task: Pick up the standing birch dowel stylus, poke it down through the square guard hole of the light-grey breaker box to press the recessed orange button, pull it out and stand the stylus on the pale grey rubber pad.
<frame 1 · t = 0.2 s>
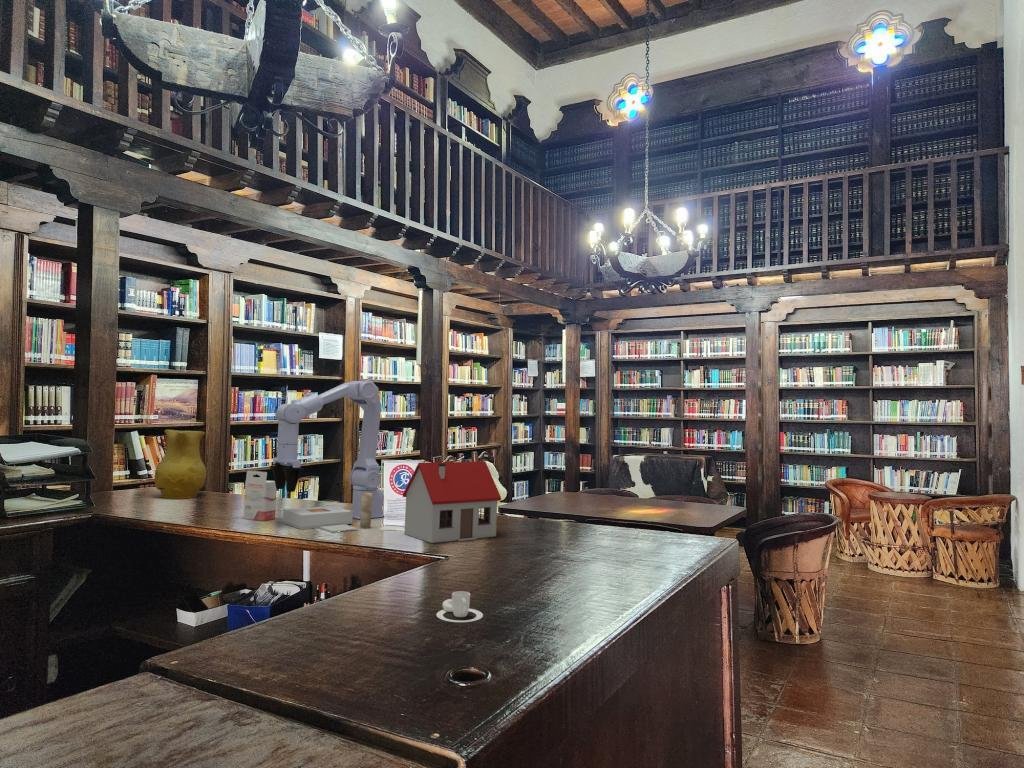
hand: (285, 490, 193), 10 cm above the table, tool pointing down, fingers open, 7 cm apart
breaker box: (317, 523, 196), on the table
house model: (450, 536, 185), on the table
stylus: (365, 527, 193), on the table
rest pad: (338, 529, 188), on the table
teacup and saucer: (471, 615, 115), on the table
ink cartridge box: (259, 519, 201), on the table
pitcher: (181, 497, 243), on the table
breaker button: (317, 513, 196), point 3 cm above the table, slide at 0.0 cm
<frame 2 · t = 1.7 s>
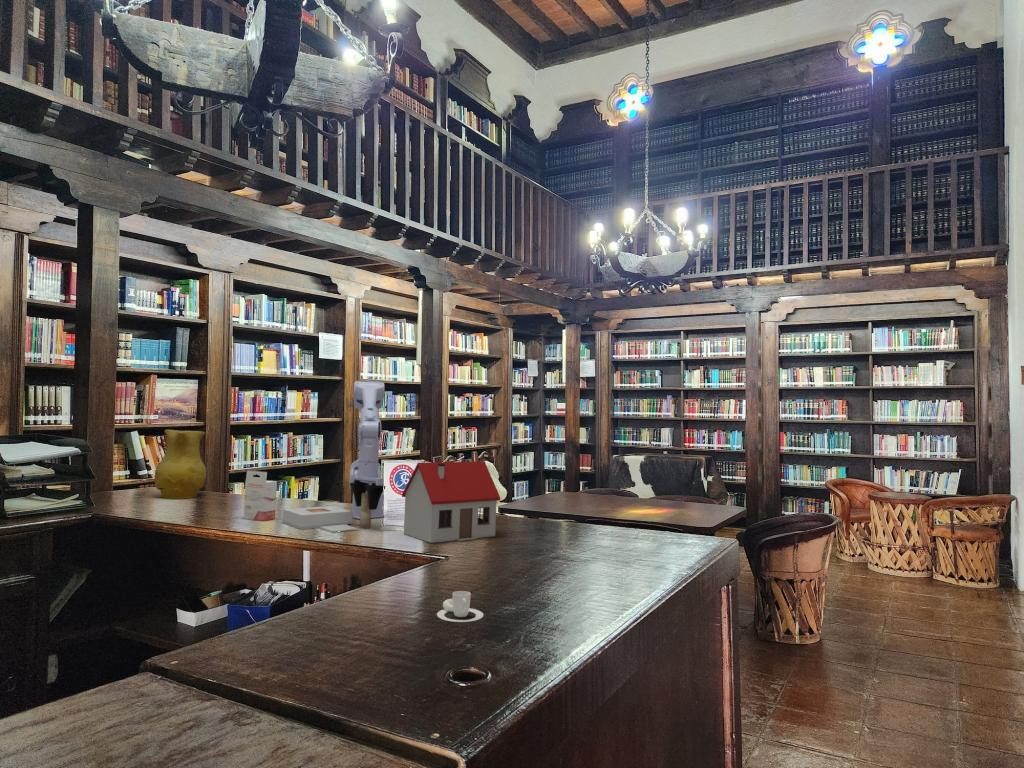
hand: (366, 507, 193), 6 cm above the table, tool pointing down, fingers open, 7 cm apart
nothing on the table moved.
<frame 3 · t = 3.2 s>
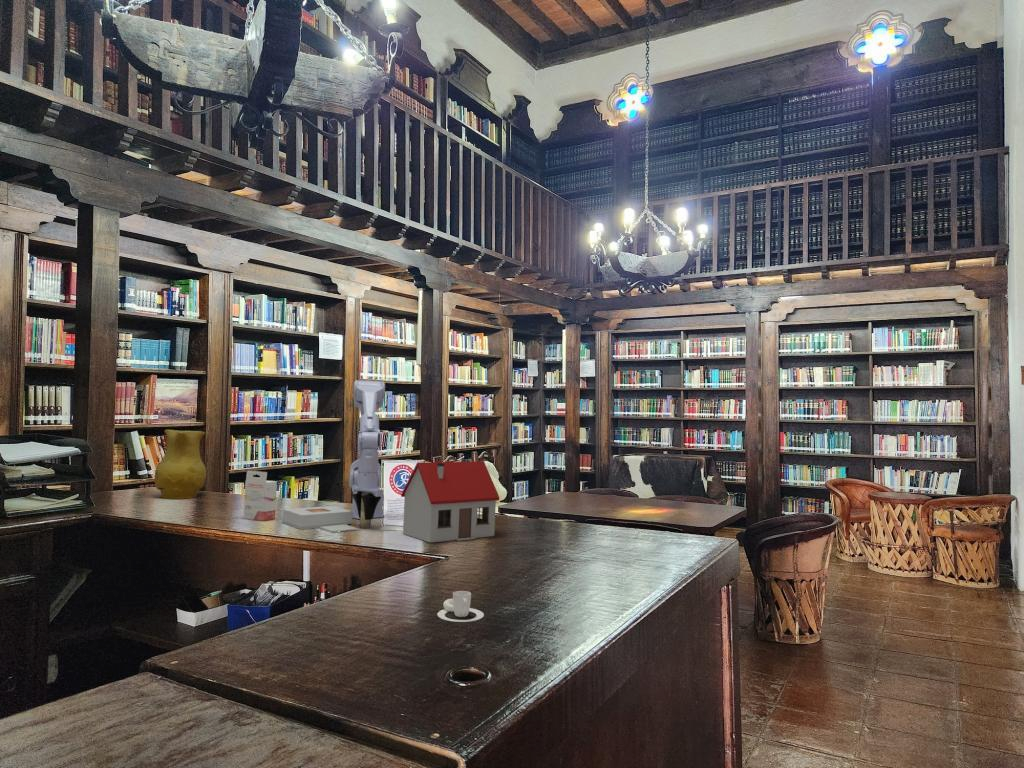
hand: (365, 518, 193), 3 cm above the table, tool pointing down, fingers closed on stylus, 3 cm apart
stylus: (365, 527, 193), on the table, touching gripper
everything else where it was.
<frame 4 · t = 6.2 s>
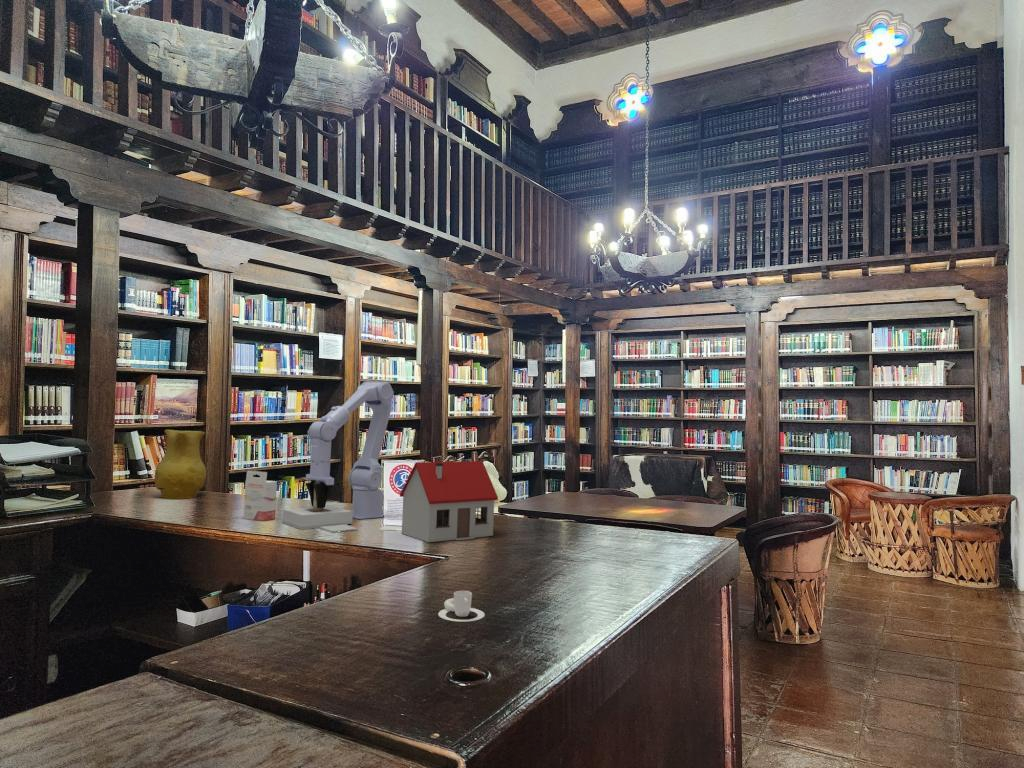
hand: (318, 506, 196), 5 cm above the table, tool pointing down, fingers closed on stylus, 3 cm apart
stylus: (318, 515, 196), point 2 cm above the table, touching breaker button, gripper
breaker button: (317, 517, 196), point 2 cm above the table, slide at 1.4 cm, touching stylus
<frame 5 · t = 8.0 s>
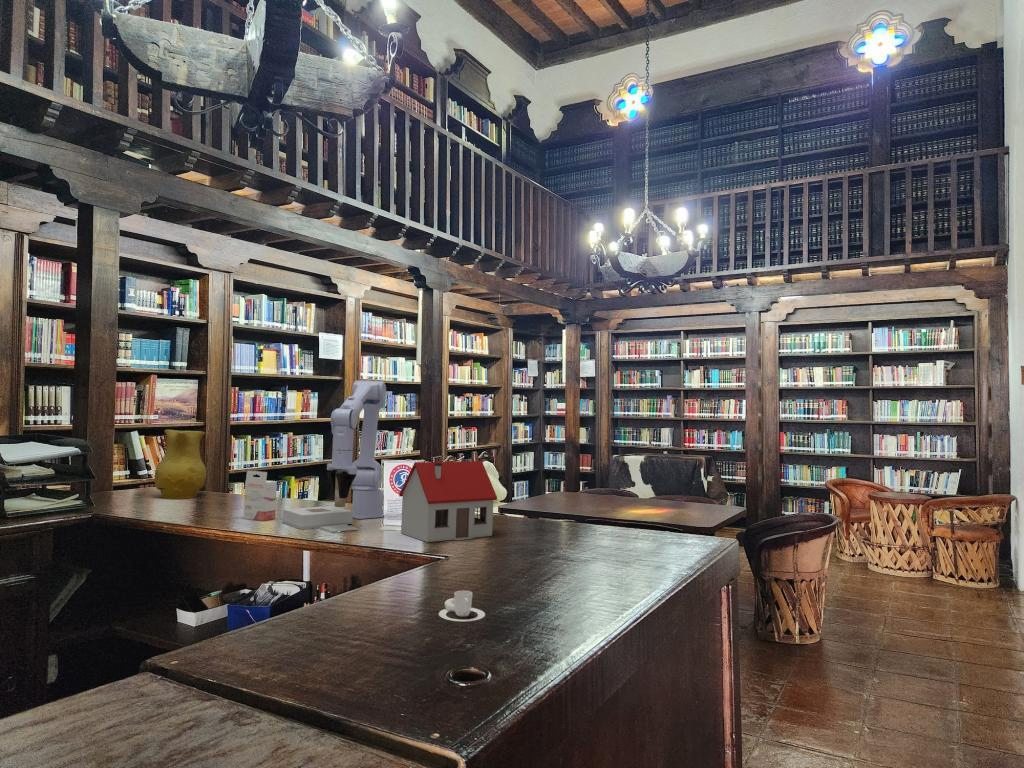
hand: (340, 497, 189), 9 cm above the table, tool pointing down, fingers closed on stylus, 3 cm apart
stylus: (339, 506, 188), point 7 cm above the table, touching gripper
breaker button: (317, 517, 196), point 2 cm above the table, slide at 1.4 cm
when the fingers open (4 cm above the table, at t = 9.5 s): stylus stays where it is, resting on rest pad.
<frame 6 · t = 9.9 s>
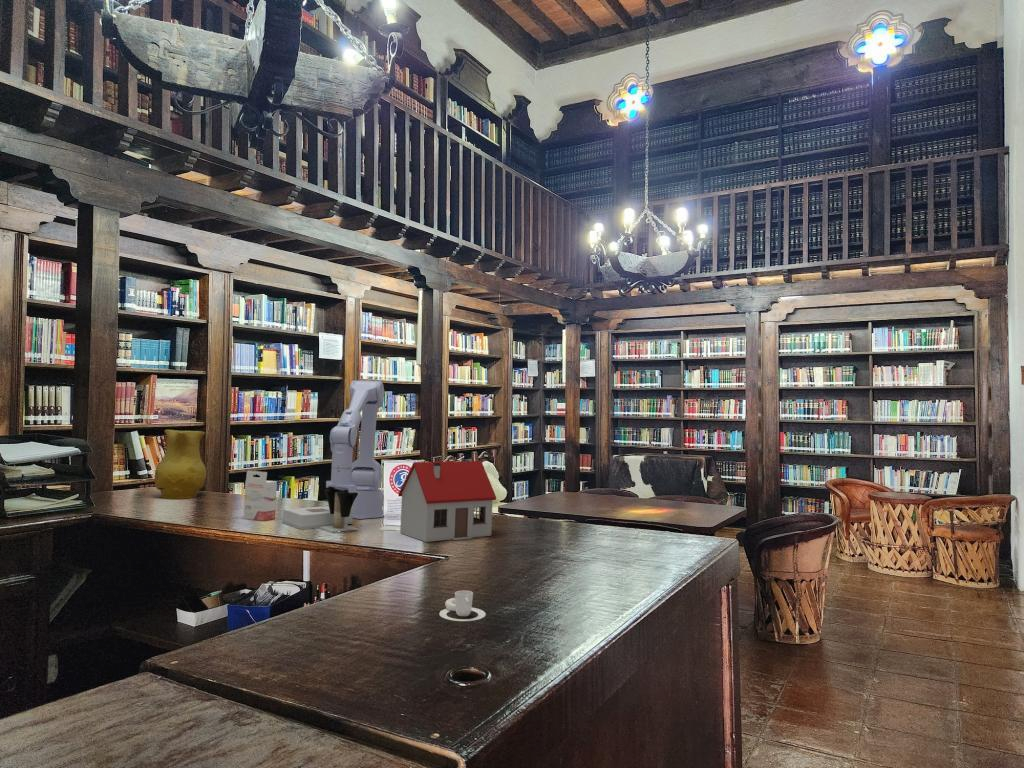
hand: (339, 515, 188), 4 cm above the table, tool pointing down, fingers open, 6 cm apart
stylus: (338, 527, 188), point 1 cm above the table, touching rest pad
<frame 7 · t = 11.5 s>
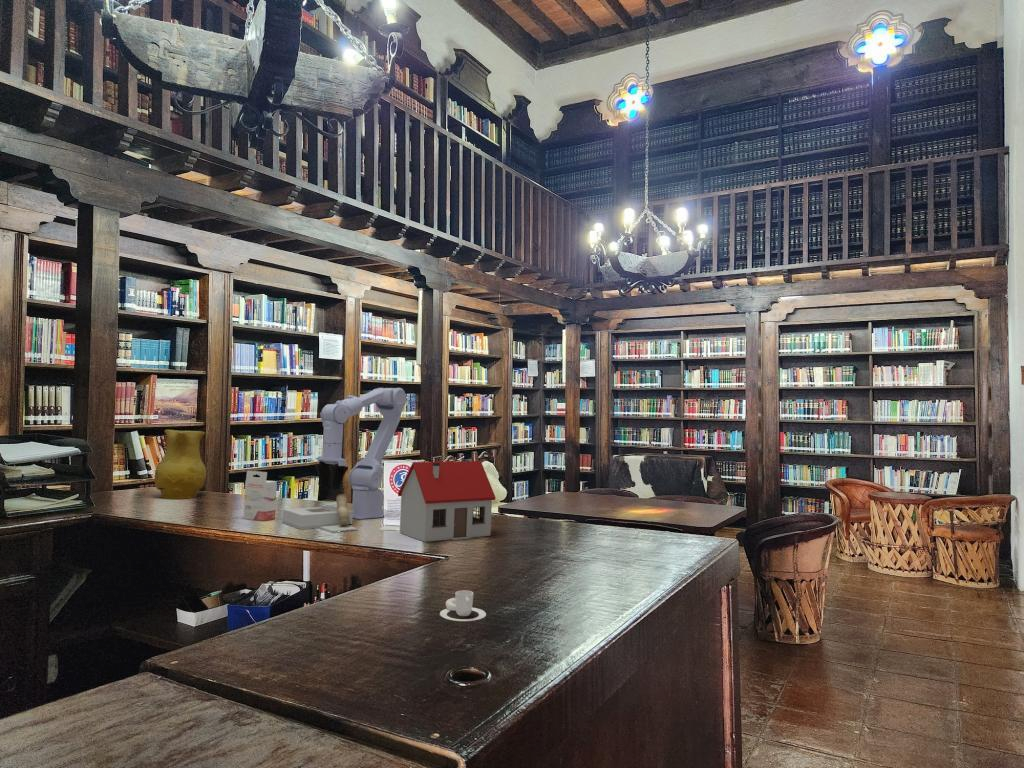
hand: (329, 488, 199), 10 cm above the table, tool pointing down, fingers open, 7 cm apart
stylus: (344, 522, 189), point 2 cm above the table, tilted 51°, touching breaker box
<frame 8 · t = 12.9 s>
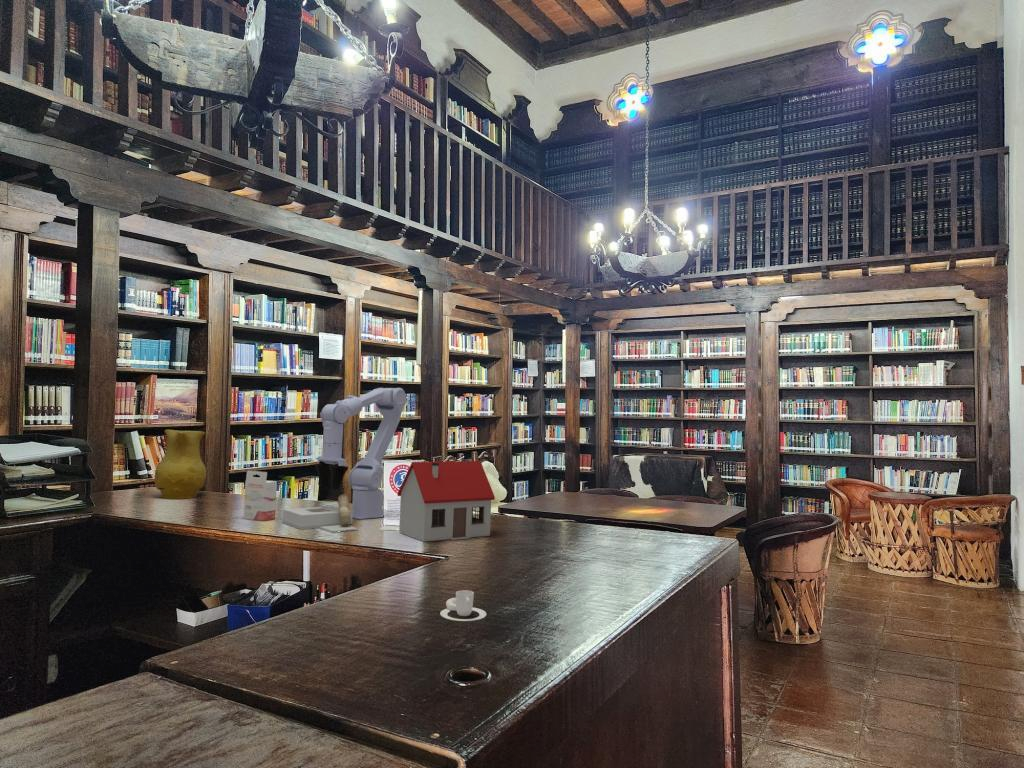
hand: (329, 488, 199), 10 cm above the table, tool pointing down, fingers open, 7 cm apart
stylus: (345, 522, 190), point 2 cm above the table, tilted 51°, touching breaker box, rest pad
at the end: breaker button slide at 1.4 cm; the gripper is holding nothing; stylus inside the target area on the rest pad (2.0 cm from its centre), point 1.7 cm above the rest pad's base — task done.
